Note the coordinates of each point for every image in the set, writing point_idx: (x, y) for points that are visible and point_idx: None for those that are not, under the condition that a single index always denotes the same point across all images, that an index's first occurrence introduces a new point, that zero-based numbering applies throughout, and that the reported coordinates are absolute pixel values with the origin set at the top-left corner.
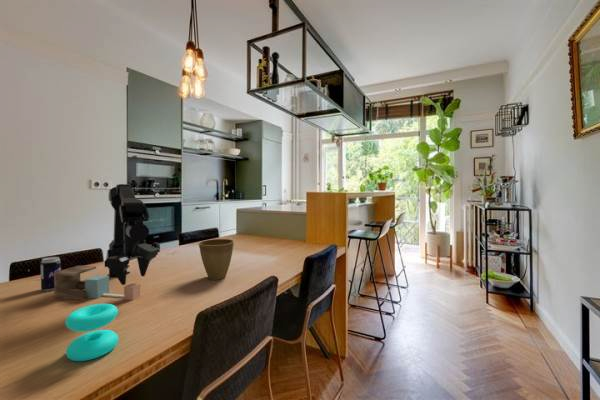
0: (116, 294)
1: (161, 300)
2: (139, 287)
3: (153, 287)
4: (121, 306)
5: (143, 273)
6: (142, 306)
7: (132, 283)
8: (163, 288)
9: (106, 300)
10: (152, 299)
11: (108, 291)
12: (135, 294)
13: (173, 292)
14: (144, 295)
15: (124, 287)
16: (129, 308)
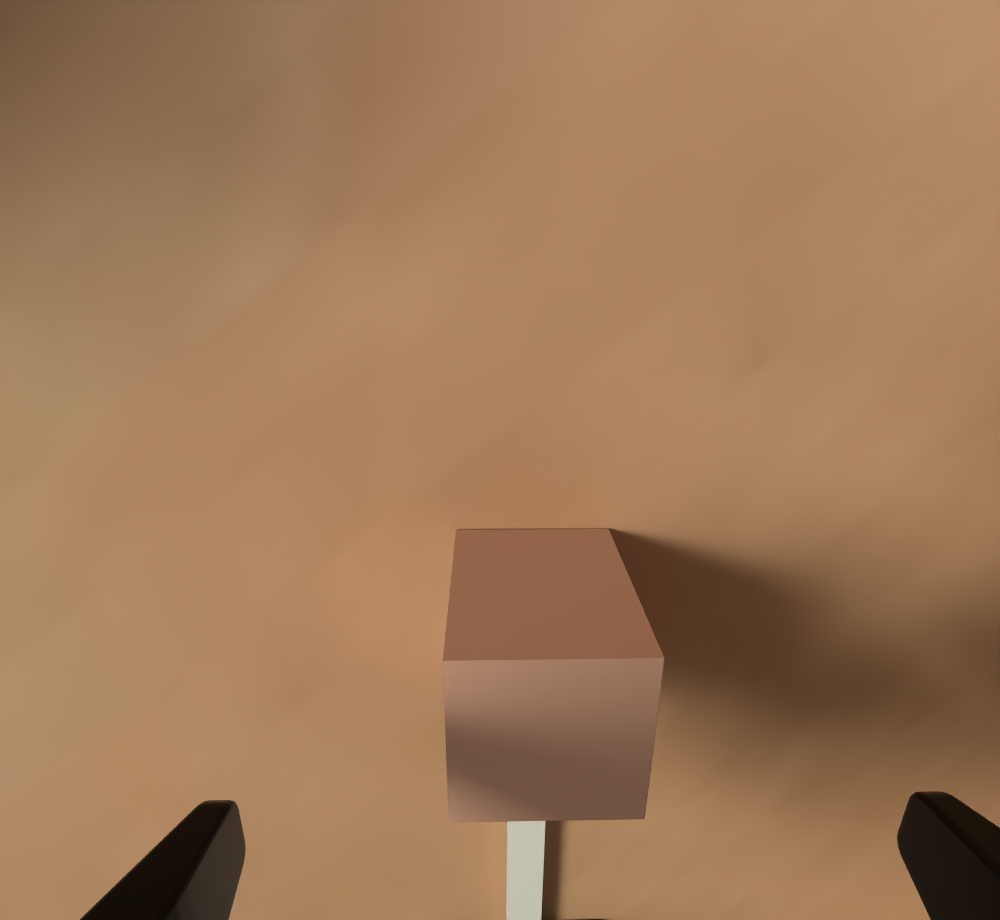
0: (515, 821)
1: (566, 8)
2: (469, 616)
3: (79, 583)
4: (835, 521)
5: (199, 895)
6: (846, 201)
7: (448, 807)
8: (40, 391)
9: (652, 807)
10: (545, 237)
11: None
12: (569, 562)
13: (128, 28)
14: (414, 491)
15: (641, 800)
16: (913, 360)
